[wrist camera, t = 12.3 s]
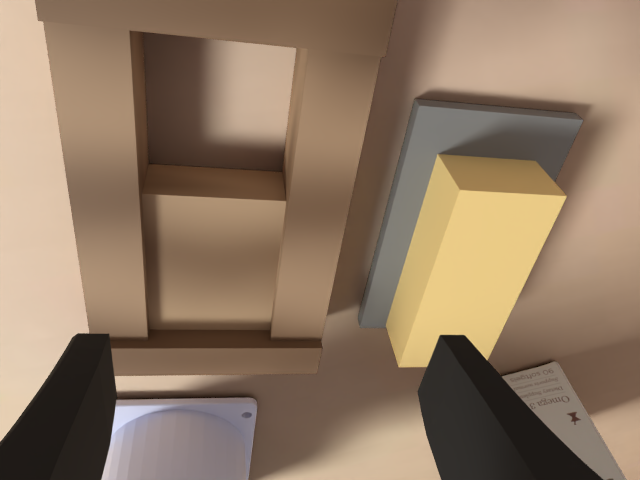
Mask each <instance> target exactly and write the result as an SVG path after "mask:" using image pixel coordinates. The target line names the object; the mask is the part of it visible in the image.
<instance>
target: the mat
mask: <svg viewBox="0 0 640 480" xmlns="http://www.w3.org/2000/svg"><path fill="white" fill-rule="evenodd" d="M582 122H583V119H582V118H580V117H579V116H578V115H577V114H576V113H568V112H557V111H546V110H535V109H523V108H512V107H501V106H490V105H479V104H468V103H457V102H446V101H435V100H424V99H414V103H413V107H412V111H411V115H410V119H409V123H408V126H407V130H406V134H405V138H404V142H403V146H402V149H401V153H400V157H399V161H398V165H397V169H396V173H395V176H394V180H393V184H392V188H391V192H390V196H389V200H388V203H387V207H386V211H385V215H384V219H383V223H382V227H381V230H380V234H379V238H378V242H377V246H376V250H375V254H374V257H373V261H372V265H371V269H370V273H369V277H368V280H367V284H366V288H365V292H364V296H363V300H362V304H361V307H360V311H359V315H358V322H359V326H360V328H386V322H387V319H388V316H389V312H390V309H391V306H392V303H393V299H394V296H395V293H396V289H397V286H398V283H399V280H400V276H401V273H402V270H403V266H404V263H405V260H406V256H407V253H408V250H409V247H410V243H411V240H412V237H413V233H414V230H415V227H416V224H417V220H418V217H419V214H420V210H421V207H422V204H423V200H424V197H425V194H426V191H427V187H428V184H429V181H430V177H431V174H432V171H433V168H434V164H435V161H436V158H437V154H444V155H459V156H473V157H487V158H502V159H516V160H531V161H536V162H537V163H538V164H539V165H540V166H541V168H542V169H543V170H544V171H545V172H546V173H547V174H548V175H549V176H550V178H551V179H552V180H553V181H554V182H555V181H556V179H557V176H558V174H559V172H560V170H561V168H562V166H563V163H564V161H565V159H566V157H567V155H568V153H569V150H570V148H571V146H572V144H573V142H574V140H575V137H576V135H577V133H578V131H579V129H580V127H581V124H582Z"/></svg>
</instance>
